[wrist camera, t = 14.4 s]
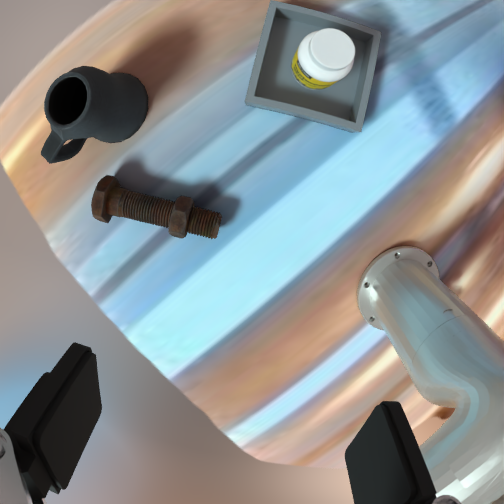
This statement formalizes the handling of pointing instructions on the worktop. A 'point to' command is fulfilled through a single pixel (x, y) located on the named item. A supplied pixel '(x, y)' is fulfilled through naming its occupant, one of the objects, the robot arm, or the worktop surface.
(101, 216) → the bolt
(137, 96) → the mug
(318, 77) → the supplement bottle
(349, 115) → the tray
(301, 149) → the worktop surface
